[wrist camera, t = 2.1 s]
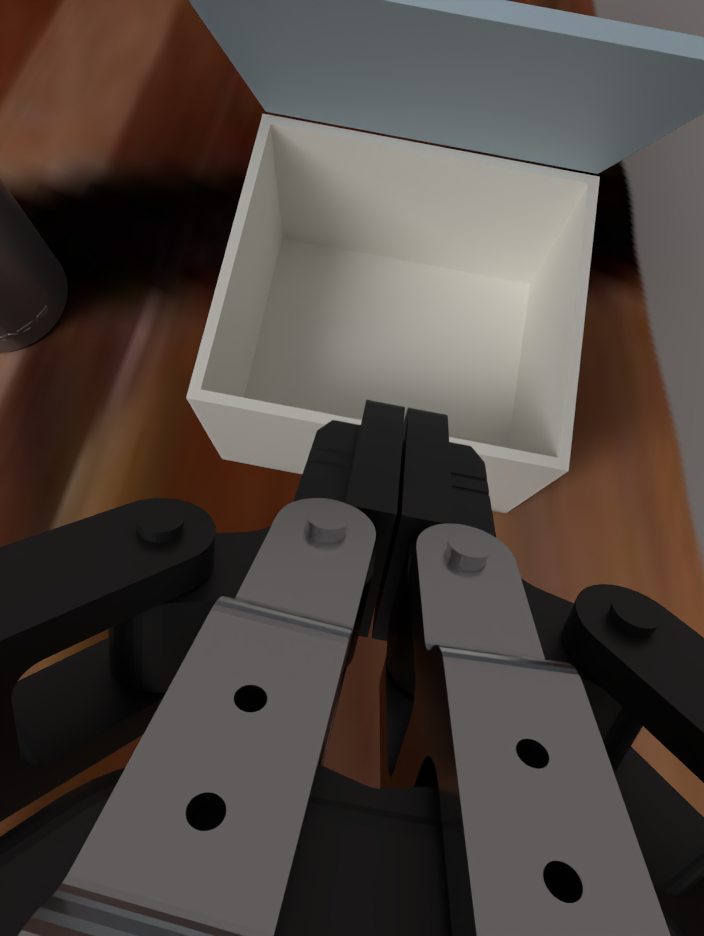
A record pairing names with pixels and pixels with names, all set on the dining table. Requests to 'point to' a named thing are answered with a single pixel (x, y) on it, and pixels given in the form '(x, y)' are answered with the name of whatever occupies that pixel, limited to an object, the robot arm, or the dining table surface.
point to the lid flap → (467, 73)
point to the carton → (399, 301)
